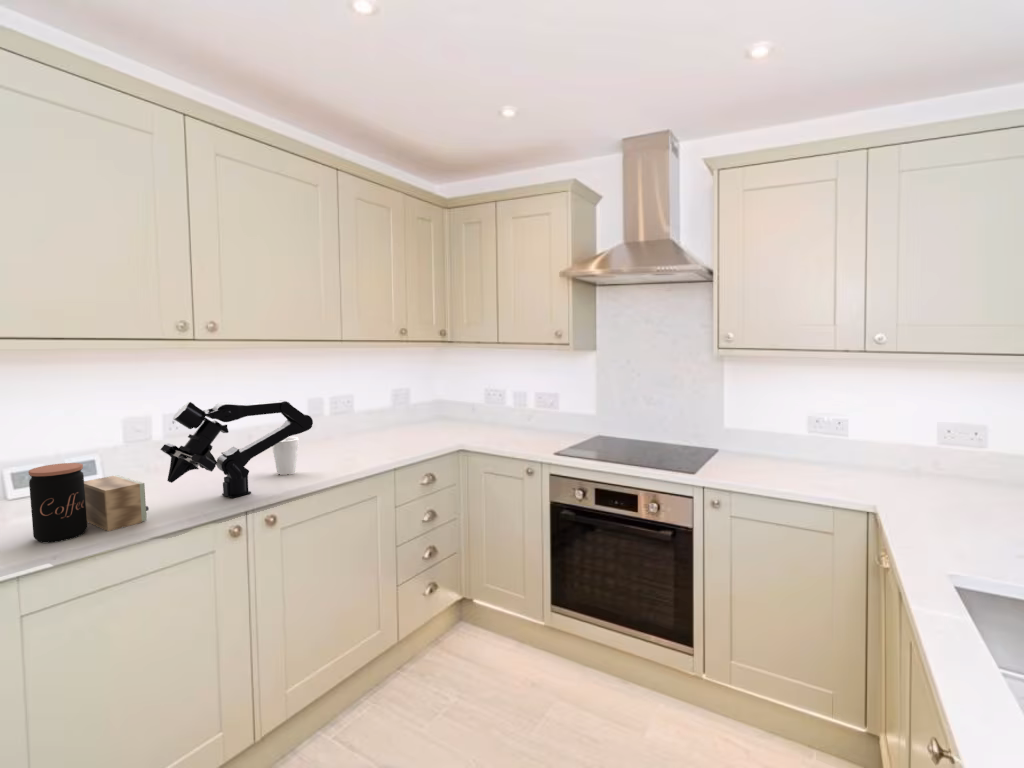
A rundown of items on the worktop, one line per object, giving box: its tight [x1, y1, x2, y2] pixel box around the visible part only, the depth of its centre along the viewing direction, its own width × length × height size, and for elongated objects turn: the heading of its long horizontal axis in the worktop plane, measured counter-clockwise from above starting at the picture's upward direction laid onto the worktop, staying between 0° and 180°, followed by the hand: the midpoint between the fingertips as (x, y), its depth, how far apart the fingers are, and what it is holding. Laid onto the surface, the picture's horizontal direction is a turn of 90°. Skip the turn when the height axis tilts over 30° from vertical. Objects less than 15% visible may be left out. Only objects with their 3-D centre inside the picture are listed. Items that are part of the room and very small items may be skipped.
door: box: [115, 475, 149, 522], centre depth 151 cm, size 2×16×11 cm, turn 58°
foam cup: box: [271, 436, 300, 476], centre depth 200 cm, size 10×9×13 cm
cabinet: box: [84, 475, 143, 532], centre depth 147 cm, size 8×16×11 cm, turn 58°
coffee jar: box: [27, 462, 88, 543], centre depth 136 cm, size 11×11×18 cm
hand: (169, 481), depth 157 cm, fingers closed
